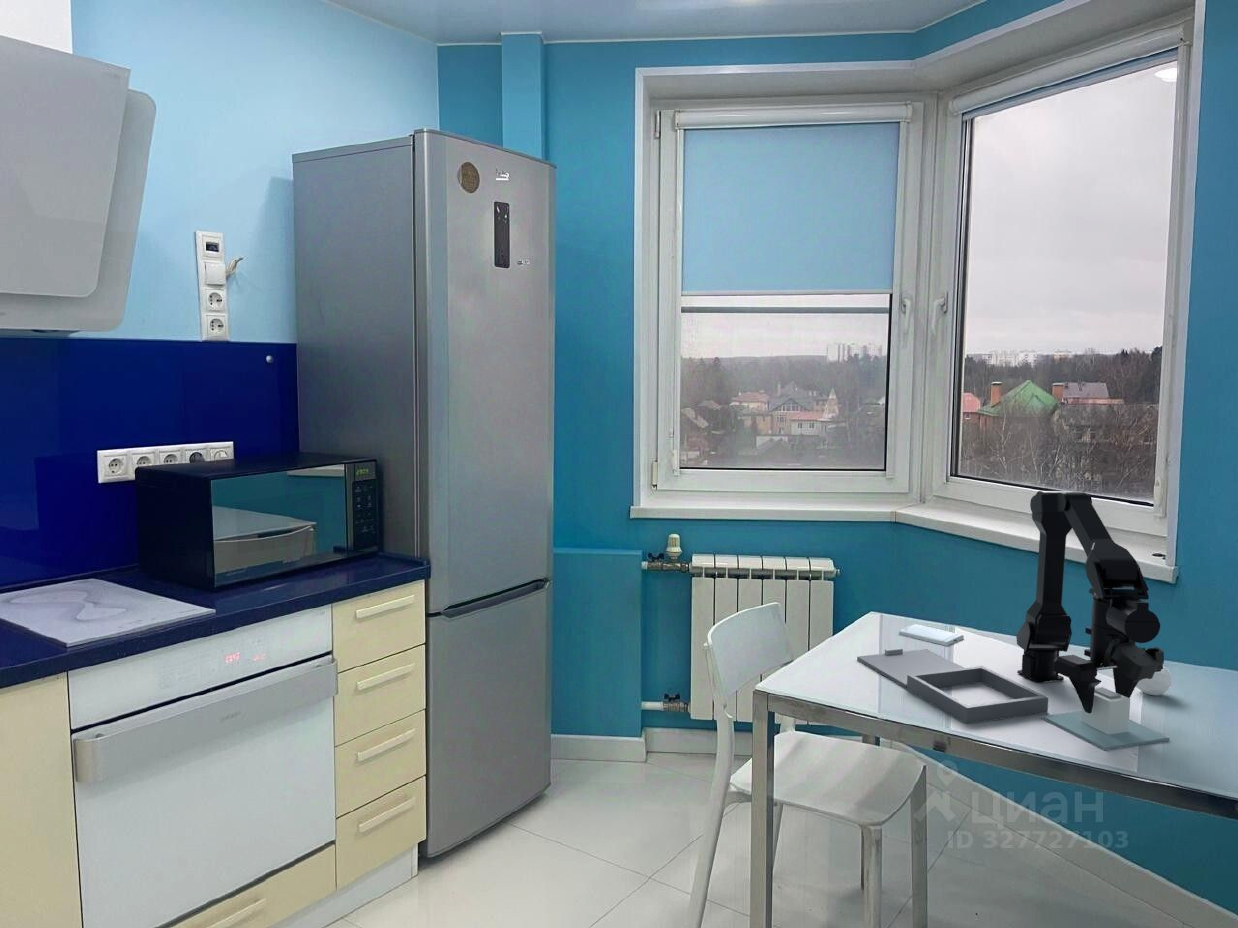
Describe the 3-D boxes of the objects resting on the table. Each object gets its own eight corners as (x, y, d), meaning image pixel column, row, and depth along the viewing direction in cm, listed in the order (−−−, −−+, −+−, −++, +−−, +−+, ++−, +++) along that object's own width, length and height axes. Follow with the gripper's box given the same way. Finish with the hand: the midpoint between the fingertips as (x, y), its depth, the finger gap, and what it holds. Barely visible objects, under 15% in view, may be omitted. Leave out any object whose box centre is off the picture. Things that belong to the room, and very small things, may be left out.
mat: (1103, 709, 161) (1103, 707, 161) (1169, 740, 148) (1169, 737, 148) (1042, 718, 157) (1042, 715, 157) (1104, 750, 144) (1104, 747, 144)
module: (1100, 718, 156) (1102, 684, 155) (1128, 731, 150) (1130, 696, 150) (1080, 721, 155) (1082, 687, 154) (1108, 734, 149) (1110, 699, 148)
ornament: (1126, 693, 169) (1122, 657, 173) (1152, 702, 171) (1147, 666, 175) (1155, 687, 164) (1150, 650, 168) (1182, 696, 166) (1176, 659, 169)
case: (926, 652, 195) (926, 639, 194) (1047, 712, 160) (1048, 697, 160) (857, 659, 190) (857, 646, 189) (966, 723, 155) (967, 707, 155)
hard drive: (898, 630, 208) (947, 641, 199) (915, 623, 214) (963, 633, 205) (898, 636, 209) (947, 648, 199) (915, 629, 214) (963, 640, 205)
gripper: (1105, 643, 140) (1099, 734, 142) (1192, 633, 145) (1186, 721, 147) (1053, 624, 151) (1048, 709, 153) (1136, 616, 156) (1131, 698, 158)
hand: (1104, 710), depth 152 cm, fingers open, 7 cm apart
